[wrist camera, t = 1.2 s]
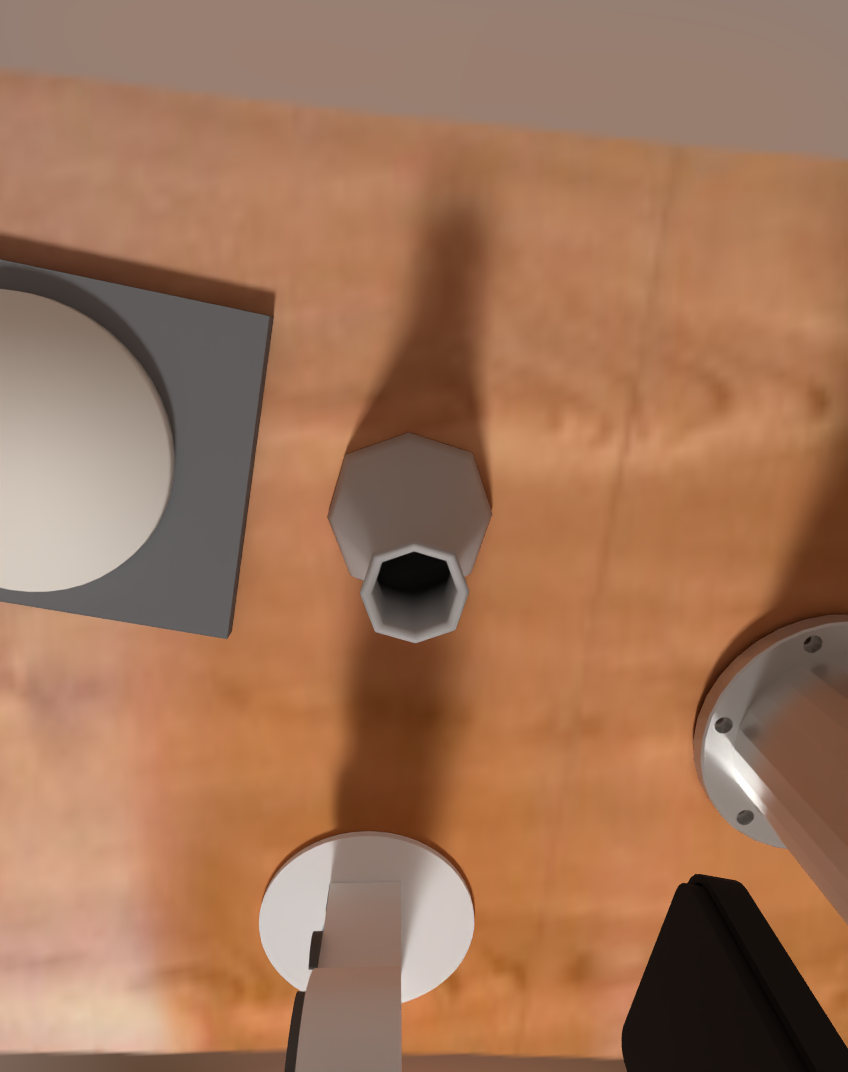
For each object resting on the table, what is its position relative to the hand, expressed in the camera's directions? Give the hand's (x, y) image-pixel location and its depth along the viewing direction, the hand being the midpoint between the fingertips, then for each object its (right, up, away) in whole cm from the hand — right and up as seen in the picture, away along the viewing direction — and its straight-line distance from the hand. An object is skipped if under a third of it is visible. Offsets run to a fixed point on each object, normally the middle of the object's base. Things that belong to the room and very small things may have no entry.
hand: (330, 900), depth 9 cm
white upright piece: (-2, -15, +26) cm, 30 cm away
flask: (+1, +6, +20) cm, 21 cm away
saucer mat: (-15, +9, +18) cm, 25 cm away
